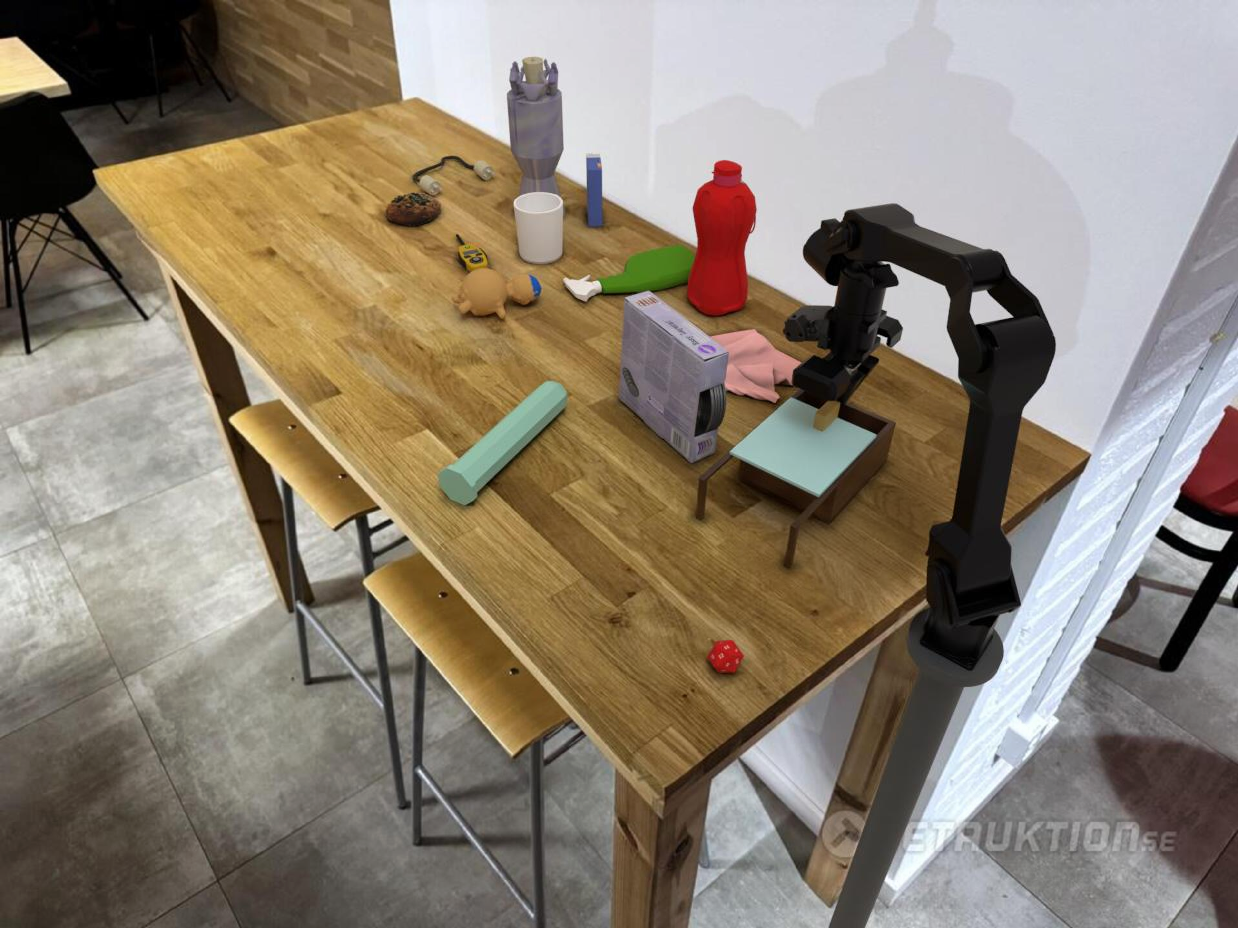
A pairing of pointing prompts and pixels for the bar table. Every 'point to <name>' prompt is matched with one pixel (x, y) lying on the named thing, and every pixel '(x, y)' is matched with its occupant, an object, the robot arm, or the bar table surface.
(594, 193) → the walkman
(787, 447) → the light blue box top
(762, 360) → the cloth
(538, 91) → the decorative object
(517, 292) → the toy
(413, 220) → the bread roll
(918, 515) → the bar table surface
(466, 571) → the bar table surface
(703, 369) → the cake pan box
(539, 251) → the mug
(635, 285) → the spray bottle
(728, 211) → the water bottle
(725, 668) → the die
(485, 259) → the yellow walkie talkie
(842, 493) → the display box
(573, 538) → the bar table surface
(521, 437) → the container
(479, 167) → the cable
